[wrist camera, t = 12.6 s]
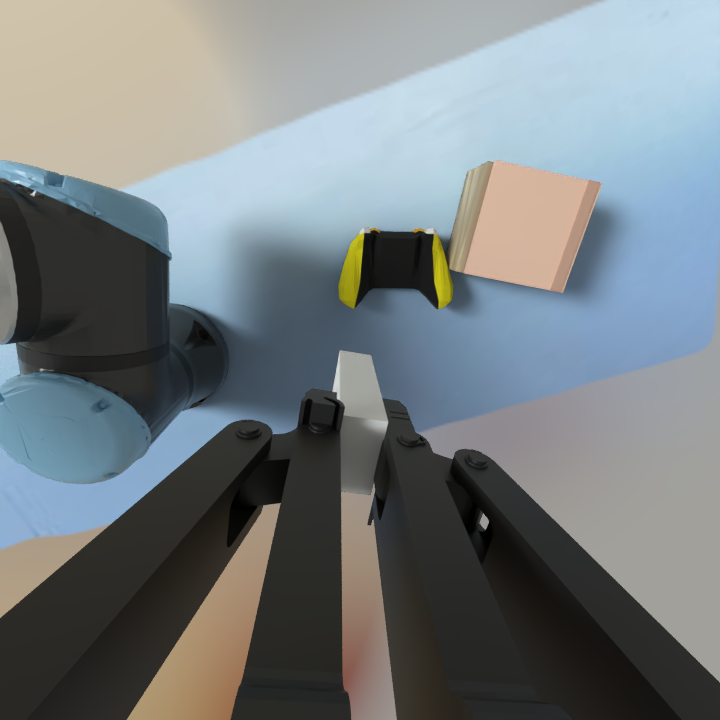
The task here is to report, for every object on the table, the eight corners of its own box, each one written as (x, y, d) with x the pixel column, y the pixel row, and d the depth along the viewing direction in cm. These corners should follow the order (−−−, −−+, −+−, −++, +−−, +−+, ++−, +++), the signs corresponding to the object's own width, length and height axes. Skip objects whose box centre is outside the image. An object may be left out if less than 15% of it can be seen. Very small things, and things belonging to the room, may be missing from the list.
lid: (463, 273, 43) (465, 273, 42) (493, 161, 39) (497, 159, 38) (559, 291, 44) (563, 293, 43) (597, 184, 40) (603, 183, 39)
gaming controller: (443, 303, 52) (450, 229, 48) (455, 311, 46) (463, 228, 43) (338, 303, 51) (337, 227, 48) (338, 310, 46) (337, 226, 42)
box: (443, 267, 50) (458, 272, 43) (467, 171, 46) (488, 161, 39) (524, 283, 51) (551, 290, 44) (554, 191, 47) (589, 184, 41)
